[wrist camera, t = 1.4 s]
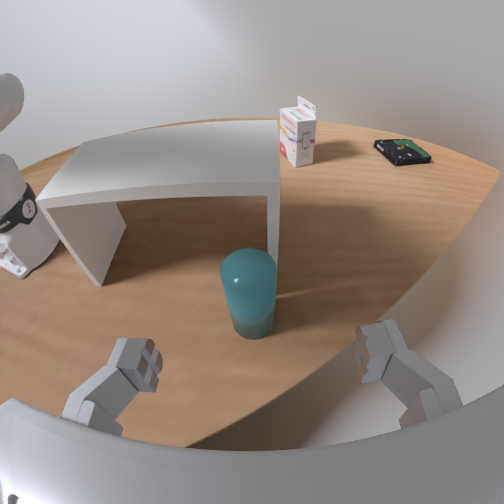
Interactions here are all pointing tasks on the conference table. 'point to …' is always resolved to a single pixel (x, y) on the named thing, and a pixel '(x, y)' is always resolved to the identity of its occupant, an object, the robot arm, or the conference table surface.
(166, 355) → the conference table surface
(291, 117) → the ink cartridge box
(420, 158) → the disk drive
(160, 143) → the arch
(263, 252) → the teal cylinder
